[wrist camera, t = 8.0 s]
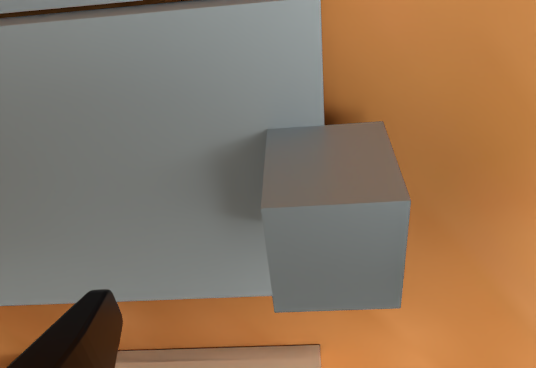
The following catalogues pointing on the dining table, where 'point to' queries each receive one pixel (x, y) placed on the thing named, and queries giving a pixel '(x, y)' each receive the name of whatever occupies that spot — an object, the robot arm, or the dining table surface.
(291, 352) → the tub
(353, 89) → the dining table surface
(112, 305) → the robot arm
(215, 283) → the lid
